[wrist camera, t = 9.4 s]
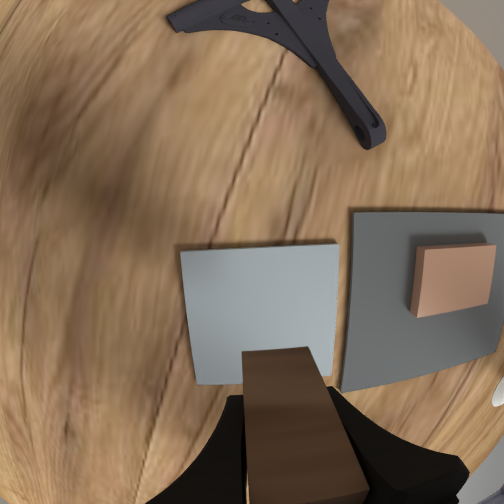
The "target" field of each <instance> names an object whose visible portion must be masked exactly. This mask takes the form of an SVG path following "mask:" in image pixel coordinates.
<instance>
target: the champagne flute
mask: <svg viewBox="0 0 504 504" xmlns="http://www.w3.org/2000/svg"><path fill="white" fill-rule="evenodd" d="M503 403H504V377H503V378H502V379H501V381H500V382H499V384H498V386H497V388H496V390H495V392H494V394H493V397H492V405H493V406H499V405H501V404H503Z"/></svg>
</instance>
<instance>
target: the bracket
mask: <svg viewBox="0 0 504 504" xmlns="http://www.w3.org/2000/svg"><path fill="white" fill-rule="evenodd" d="M247 1H249V0H198V1H196V2H193V3H191V4H189V5H187V6H185V7H183V8H181V9H179V10H177V11H175V12H173V13H171V14H169V15H167V16H166V18H167V19H168V21H170V22H171V23H172V25H173V27H174V28H175V30H176V32H177V33H178V32H180V31H184V32H185V33H191V32H198V31H207V30H231V31H239V32H245V33H250V34H254V35H257V36H261V37H265V38H268V39H270V40H272V41H274V42H276V43H278V44H280V45H282V46H284V47H285V48H287V49H288V50H290V51H292V52H293V53H294V54H296V55H297V56H298V57H300V58H301V59H302V60H303V61H304V62H306V63H307V64H308V65H309V66H310V67H312V68H316V69H317V70H318V72H319V73H320V75H321V76H322V78H323V80H324V81H325V83H326V84H327V86H328V87H329V89H330V91H331V92H332V94H333V96H334V97H335V99H336V101H337V102H338V104H339V106H340V107H341V109H342V111H343V112H344V114H345V116H346V118H347V119H348V121H349V123H350V125H351V127H352V128H353V130H354V132H355V134H356V136H357V138H358V139H359V141H360V143H361V145H362V147H363V148H364V149H366V150H369V149H371V148H373V147H375V146H377V145H379V144H381V143H383V142H384V141H385V140H386V128H385V124H384V122H383V120H382V119H381V117H380V115H379V114H378V113H377V112H376V111H375V109H374V108H373V107H372V105H371V104H370V103H369V101H368V100H367V99H366V97H365V96H364V95H363V93H362V92H361V91H360V89H359V88H358V87H357V85H356V84H355V83H354V81H353V80H352V79H351V78H350V76H349V75H348V74H347V73H346V71H345V70H344V69H343V67H342V66H341V65H340V63H339V62H338V60H337V59H336V55H335V52H334V49H333V46H332V43H331V40H330V37H329V33H328V28H327V21H326V11H327V6H328V2H329V0H301V1H300V2H299V3H298V4H296V5H295V4H294V2H293V1H292V0H265V1H266V2H267V3H268V4H269V5H270V6H271V7H272V8H273V10H274V11H275V12H272V13H257V12H253V11H250V10H248V9H246V8H245V7H243V6H242V5H241V4H242V3H244V2H247Z"/></svg>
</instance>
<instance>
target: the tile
mask: <svg viewBox="0 0 504 504" xmlns="http://www.w3.org/2000/svg"><path fill="white" fill-rule="evenodd" d="M495 254H496V245H495V244H491V243H488V242H487V243H470V244H452V245H434V246H417V250H416V263H415V274H414V283H413V292H412V300H411V307H410V313H411V314H413V315H414V316H415V317H416V318H419V317H425V316H430V315H436V314H441V313H446V312H451V311H456V310H461V309H465V308H470V307H474V306H479V305H483V304H487V303H488V299H489V294H490V288H491V282H492V276H493V269H494V262H495Z"/></svg>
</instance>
